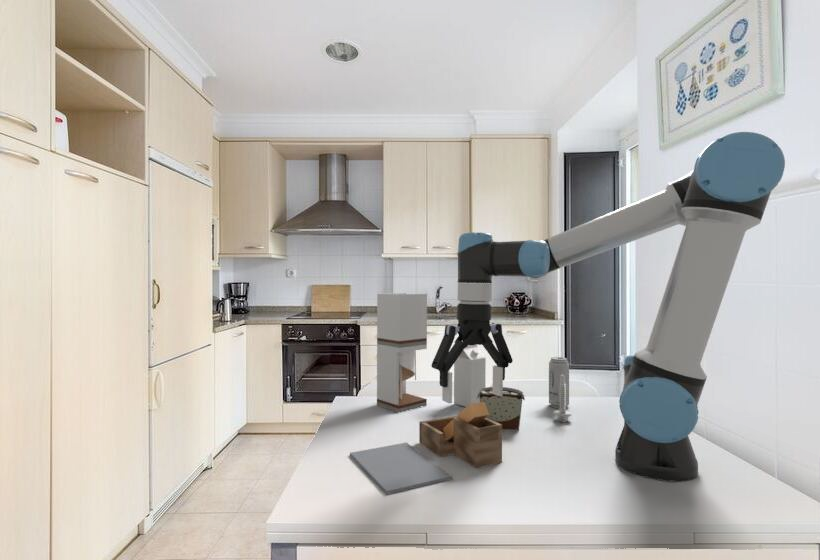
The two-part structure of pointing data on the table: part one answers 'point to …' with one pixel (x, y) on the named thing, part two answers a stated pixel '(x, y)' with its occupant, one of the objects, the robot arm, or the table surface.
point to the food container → (503, 406)
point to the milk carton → (469, 376)
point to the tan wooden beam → (467, 418)
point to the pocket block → (464, 440)
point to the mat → (399, 467)
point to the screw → (562, 402)
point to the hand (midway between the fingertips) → (473, 398)
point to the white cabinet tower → (399, 347)
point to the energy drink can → (558, 380)
